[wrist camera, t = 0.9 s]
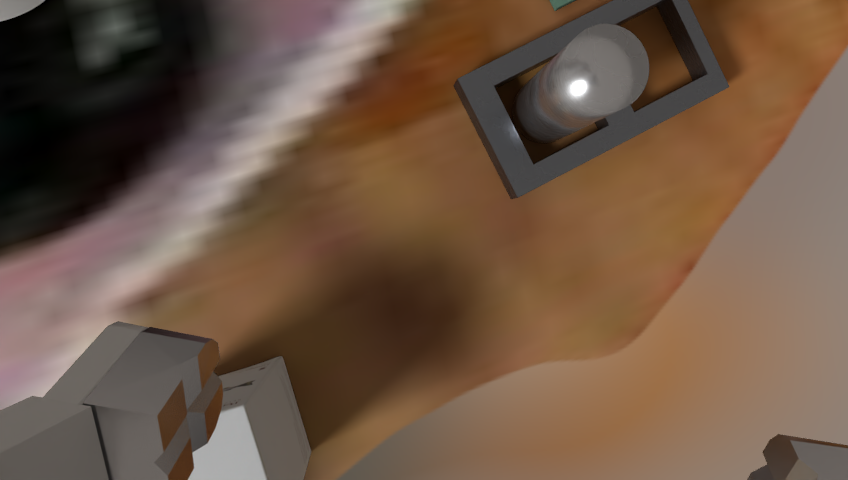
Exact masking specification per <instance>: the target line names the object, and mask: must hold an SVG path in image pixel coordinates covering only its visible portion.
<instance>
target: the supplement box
mask: <svg viewBox="0 0 848 480" xmlns="http://www.w3.org/2000/svg"><path fill="white" fill-rule="evenodd" d="M218 377H219V379H220V380H221V381H222V386H223V400H222V409H221V412H220V415H219V419H218V422H217V425H216V428H215V430H214V432H213V434H212V436H211V438H210V440H209V442H208V443H207V444H206V445H204V446H203V447H201V448H199V449H198V450H196V451H194V452H193V453H192V454H193V462H194V469H193V471H192V473H191V475H190V477H189V478H188V480H304V476H305V472H306V469H307V465H308V462H309V458H310V455H311V449H310V445H309V442H308V439H307V435H306V432H305V429H304V426H303V423H302V419H301V415H300V412H299V409H298V406H297V402H296V399H295V396H294V392H293V389H292V386H291V382H290V379H289V376H288V372H287V369H286V366H285V363H284V359H283V357H282V356H279V357H276V358H273V359H270V360H268V361H265V362H262V363H259V364H256V365H253V366H250V367H247V368H244V369H241V370H237V371H234V372H231V373H227V374H224V375H221V376H218Z"/></svg>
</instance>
